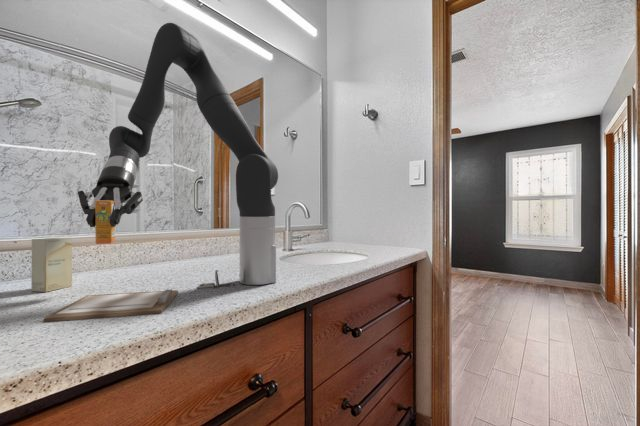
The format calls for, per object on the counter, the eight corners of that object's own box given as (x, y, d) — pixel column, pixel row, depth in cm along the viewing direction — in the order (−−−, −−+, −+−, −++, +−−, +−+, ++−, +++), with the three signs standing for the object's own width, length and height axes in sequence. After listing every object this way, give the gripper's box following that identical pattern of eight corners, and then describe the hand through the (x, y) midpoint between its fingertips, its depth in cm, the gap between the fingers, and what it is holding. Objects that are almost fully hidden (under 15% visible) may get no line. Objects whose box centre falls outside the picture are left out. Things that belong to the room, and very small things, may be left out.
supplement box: (94, 244, 67) (93, 200, 67) (98, 242, 70) (98, 200, 70) (112, 243, 69) (111, 200, 68) (115, 242, 72) (114, 200, 72)
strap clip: (197, 290, 71) (197, 273, 71) (198, 287, 74) (198, 270, 74) (234, 288, 74) (234, 270, 74) (234, 285, 77) (234, 268, 76)
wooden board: (178, 292, 68) (178, 284, 68) (161, 313, 54) (161, 303, 54) (86, 298, 64) (86, 289, 64) (43, 321, 50) (43, 311, 50)
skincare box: (45, 292, 68) (45, 239, 68) (30, 291, 69) (29, 239, 69) (73, 285, 74) (73, 237, 74) (59, 285, 75) (58, 236, 75)
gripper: (81, 163, 74) (57, 213, 63) (146, 166, 79) (134, 212, 67) (90, 186, 79) (69, 236, 68) (150, 187, 84) (140, 234, 72)
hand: (102, 224), depth 68 cm, fingers closed on supplement box, 3 cm apart
